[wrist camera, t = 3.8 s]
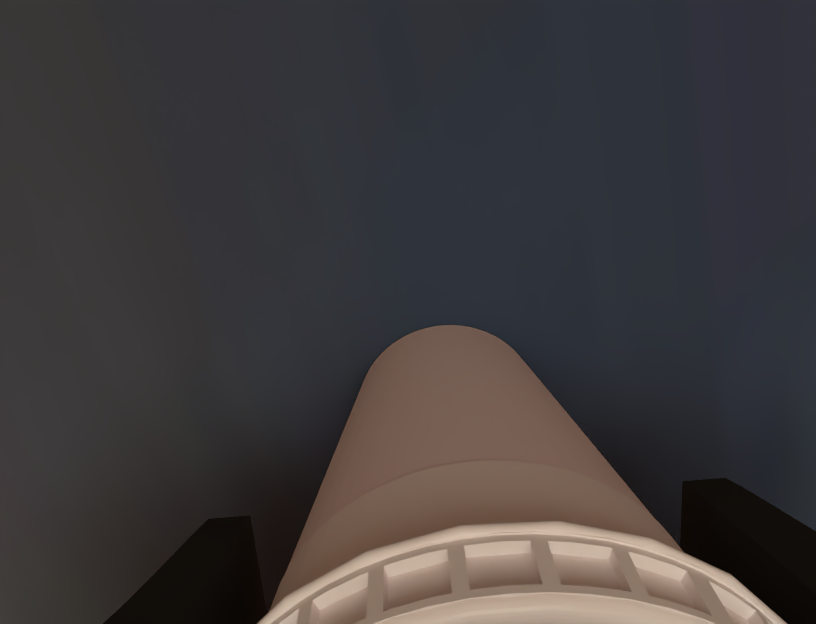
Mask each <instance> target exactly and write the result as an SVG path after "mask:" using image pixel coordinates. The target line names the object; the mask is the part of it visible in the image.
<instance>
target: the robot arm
mask: <svg viewBox="0 0 816 624" xmlns="http://www.w3.org/2000/svg"><path fill="white" fill-rule="evenodd" d="M680 548H681V549H682V551H683V552H684V553H686V554H688V555H690V556H692V557H695V558H697V559H699V560H701V561H703V562H705V563H708V564H710V565H712V566H714V567H716V568H718V569H721V570H723V571H725V572H727V573H729V574H731V575H732V576H733V577H735V578H736V579H737V580H738V581H739V582H740V583H741V584H743V585H744V586H745V587H746V588H747V589H748V590H749V591H751V592H752V593H753V594H754V595H755V596H756V597H757V598H759V599H760V600H761V601H762V602H763V603H764V604H766V605H767V606H768V607H769V608H770V609H771V610H772V611H774V612H775V613H776V614H777V615H778V616H779V617H780V618H782V619H783V620H784V621H785V622H786V623H787V624H816V531H814V530H812V529H811V528H809V527H807V526H806V525H804V524H802V523H801V522H799V521H798V520H796V519H794V518H793V517H791V516H789V515H788V514H786V513H784V512H783V511H781V510H780V509H778V508H776V507H775V506H773V505H771V504H770V503H768V502H766V501H765V500H763V499H761V498H760V497H758V496H756V495H755V494H753V493H751V492H750V491H748V490H746V489H745V488H743V487H741V486H739V485H737V484H736V483H734V482H732V481H730V480H728V479H726V478H719V479H707V480H694V481H683V488H682V513H681V539H680ZM266 614H267V613H266V607H265V601H264V595H263V589H262V583H261V577H260V571H259V566H258V560H257V554H256V548H255V542H254V536H253V530H252V524H251V518H250V516H240V517H228V518H215V519H208V520H207V521H206V522H205V523H204V524H203V525H202V526H201V527H200V528H199V529H198V530H197V531H196V532H195V533H194V534H193V535H192V536H191V537H190V538H189V539H188V540H187V541H186V542H185V543H184V544H183V545H182V546H181V547H180V548H179V549H178V550H177V551H176V552H175V553H174V555H173V556H172V557H171V558H170V559H169V560H168V561H167V562H166V563H165V564H164V565H163V566H162V567H161V568H160V569H159V570H158V571H157V572H156V573H155V574H154V575H153V576H152V577H151V578H150V579H149V580H148V581H147V582H146V583H145V584H144V585H143V586H142V587H141V588H140V589H139V590H138V591H137V592H136V593H135V594H134V595H133V596H132V597H131V598H130V599H129V600H128V601H127V602H126V603H125V604H124V605H123V606H122V607H121V608H120V609H119V610H118V611H116V612H115V613H114V614H113V615H112V616H111V617H110V618H109V619H108V620H107V621H105V622H104V623H103V624H257V623H258V622H259V621H260V620H261V619H262V618H263V617H264V616H265V615H266Z"/></svg>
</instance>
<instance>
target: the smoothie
mask: <svg viewBox="0 0 816 624" xmlns="http://www.w3.org/2000/svg"><path fill="white" fill-rule="evenodd" d="M257 624H787V623H786V622H785V621H784V620H783V619H782V618H780V617H779V616H778V615H777V614H776V613H775V612H774V611H772V610H771V609H770V608H769V607H768V606H767V605H766V604H764V603H763V602H762V601H761V600H760V599H759V598H757V597H756V596H755V595H754V594H753V593H752V592H751V591H749V590H748V589H747V588H746V587H745V586H744V585H743V584H741V583H740V582H739V581H738V580H737V579H736V578H735V577H733V576H732V575H731V574H729V573H727V572H725V571H723V570H721V569H718V568H716V567H714V566H712V565H710V564H708V563H705V562H703V561H701V560H699V559H697V558H695V557H692V556H690V555H688V554H686V553H684V552H683V551H682V549H681V548H680V547H679V546H678V544H677V543H676V542H675V541H674V539H673V538H672V537H671V536H670V535H669V533H668V532H667V531H666V530H665V529H664V528H663V527H662V526H661V524H660V523H659V522H658V521H657V520H656V519H655V518H654V517H653V516H652V515H651V513H650V512H649V511H648V510H647V509H646V507H645V506H644V505H643V504H642V503H641V501H640V500H639V499H638V498H637V497H636V495H635V494H634V493H633V492H632V491H631V489H630V488H629V487H628V486H627V485H626V483H625V482H624V481H623V480H622V479H621V477H620V476H619V475H618V474H617V473H616V471H615V470H614V469H613V468H612V466H611V465H610V464H609V463H608V462H607V460H606V459H605V458H604V457H603V456H602V454H601V453H600V452H599V451H598V450H597V448H596V447H595V446H594V445H593V444H592V442H591V441H590V440H589V439H588V438H587V436H586V435H585V434H584V433H583V432H582V430H581V429H580V428H579V427H578V426H577V424H576V423H575V422H574V421H573V420H572V418H571V417H570V416H569V415H568V414H567V412H566V411H565V410H564V409H563V408H562V406H561V405H560V404H559V403H558V402H557V400H556V399H555V398H554V397H553V396H552V394H551V393H550V392H549V391H548V390H547V388H546V387H545V386H544V385H543V384H542V382H541V381H540V380H539V379H538V378H537V376H536V375H535V374H534V373H533V372H532V370H531V369H530V368H529V367H528V366H527V364H526V363H525V362H524V361H523V359H522V358H521V357H520V356H519V355H518V354H517V353H516V351H514V350H513V349H512V348H511V347H510V346H509V345H508V344H506V343H505V342H504V341H502V340H501V339H499V338H497V337H496V336H494V335H492V334H490V333H487V332H485V331H482V330H479V329H476V328H472V327H467V326H459V325H441V326H433V327H429V328H424V329H421V330H418V331H415V332H413V333H410V334H408V335H406V336H404V337H402V338H401V339H399V340H397V341H396V342H394V343H393V344H392V345H390V346H389V347H388V348H387V349H386V350H385V351H384V352H383V353H382V354H381V355H379V357H378V358H377V359H376V360H375V362H374V363H373V364H372V366H371V367H370V369H369V371H368V373H367V375H366V377H365V379H364V381H363V384H362V386H361V389H360V391H359V394H358V396H357V399H356V401H355V403H354V406H353V408H352V411H351V413H350V416H349V418H348V421H347V423H346V426H345V428H344V430H343V433H342V435H341V438H340V440H339V443H338V445H337V448H336V450H335V453H334V455H333V457H332V460H331V462H330V465H329V467H328V470H327V472H326V475H325V477H324V480H323V482H322V484H321V487H320V489H319V492H318V494H317V497H316V499H315V502H314V504H313V507H312V509H311V511H310V514H309V516H308V519H307V521H306V524H305V526H304V529H303V531H302V534H301V536H300V538H299V541H298V543H297V546H296V548H295V551H294V553H293V556H292V558H291V561H290V563H289V565H288V568H287V570H286V573H285V575H284V576H283V578H282V580H281V582H280V584H279V587H278V590H277V592H276V595H275V597H274V600H273V602H272V605H271V607H270V610H269V612H268V613H267V614H266V615H265V616H264V617H263V618H262V619H261V620H260V621H259V622H258V623H257Z"/></svg>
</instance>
